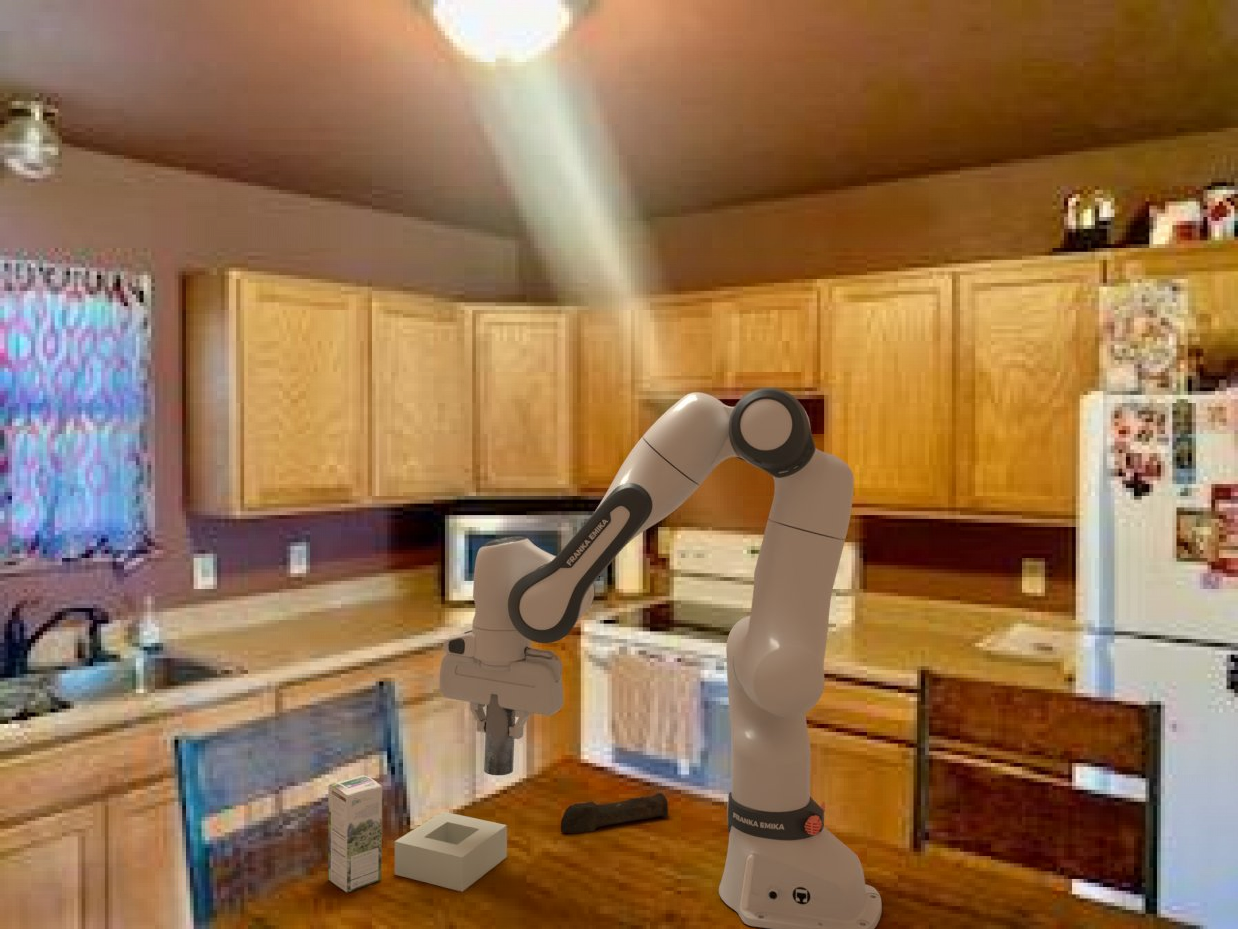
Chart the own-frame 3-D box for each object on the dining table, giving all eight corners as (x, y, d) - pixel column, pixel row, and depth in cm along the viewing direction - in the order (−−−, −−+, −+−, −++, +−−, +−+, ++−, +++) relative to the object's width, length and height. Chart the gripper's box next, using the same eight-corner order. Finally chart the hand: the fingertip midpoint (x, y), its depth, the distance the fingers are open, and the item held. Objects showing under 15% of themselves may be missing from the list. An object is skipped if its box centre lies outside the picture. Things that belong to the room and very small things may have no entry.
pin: (518, 769, 141) (521, 690, 141) (503, 777, 137) (506, 696, 137) (494, 764, 143) (497, 686, 143) (478, 772, 139) (481, 692, 139)
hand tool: (659, 812, 161) (659, 785, 161) (669, 820, 157) (669, 793, 157) (556, 829, 154) (556, 801, 154) (563, 838, 150) (563, 810, 150)
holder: (506, 857, 143) (506, 825, 143) (462, 891, 132) (462, 857, 132) (442, 842, 148) (442, 811, 148) (394, 874, 137) (394, 841, 137)
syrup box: (362, 867, 139) (362, 772, 139) (383, 881, 135) (382, 783, 135) (327, 880, 135) (326, 782, 135) (347, 895, 131) (346, 794, 131)
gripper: (572, 648, 138) (569, 739, 138) (458, 632, 147) (456, 718, 147) (551, 657, 132) (549, 752, 133) (434, 640, 141) (432, 729, 141)
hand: (499, 734), depth 140 cm, fingers closed on pin, 4 cm apart
